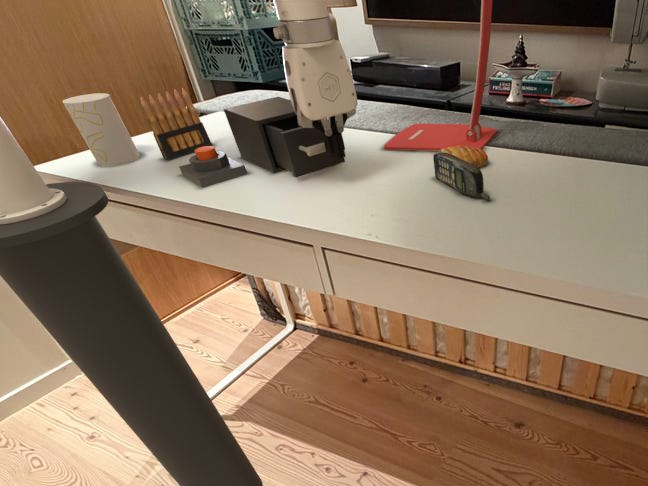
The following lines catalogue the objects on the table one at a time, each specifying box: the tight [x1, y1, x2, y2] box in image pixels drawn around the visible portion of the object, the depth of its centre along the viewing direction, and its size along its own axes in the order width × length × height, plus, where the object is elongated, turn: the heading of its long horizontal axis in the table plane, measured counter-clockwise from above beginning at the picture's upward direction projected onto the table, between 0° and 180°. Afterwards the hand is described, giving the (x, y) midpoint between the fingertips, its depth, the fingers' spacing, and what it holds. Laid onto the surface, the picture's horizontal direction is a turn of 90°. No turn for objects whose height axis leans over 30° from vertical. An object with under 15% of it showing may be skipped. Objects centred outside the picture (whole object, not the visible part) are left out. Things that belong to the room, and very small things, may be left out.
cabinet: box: [223, 96, 297, 174], centre depth 95 cm, size 15×12×10 cm
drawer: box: [262, 116, 346, 179], centre depth 89 cm, size 18×11×8 cm, turn 46°
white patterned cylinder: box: [61, 92, 141, 167], centre depth 97 cm, size 8×8×12 cm
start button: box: [194, 145, 218, 160], centre depth 89 cm, size 4×4×2 cm
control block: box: [178, 150, 248, 188], centre depth 91 cm, size 9×10×4 cm
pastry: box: [440, 145, 489, 169], centre depth 89 cm, size 9×7×4 cm
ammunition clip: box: [140, 87, 213, 161], centre depth 99 cm, size 11×2×12 cm, turn 146°
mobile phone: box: [432, 152, 491, 201], centre depth 80 cm, size 5×3×15 cm
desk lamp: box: [383, 0, 498, 152], centre depth 91 cm, size 18×38×40 cm, turn 73°
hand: (337, 156), depth 83 cm, fingers closed
